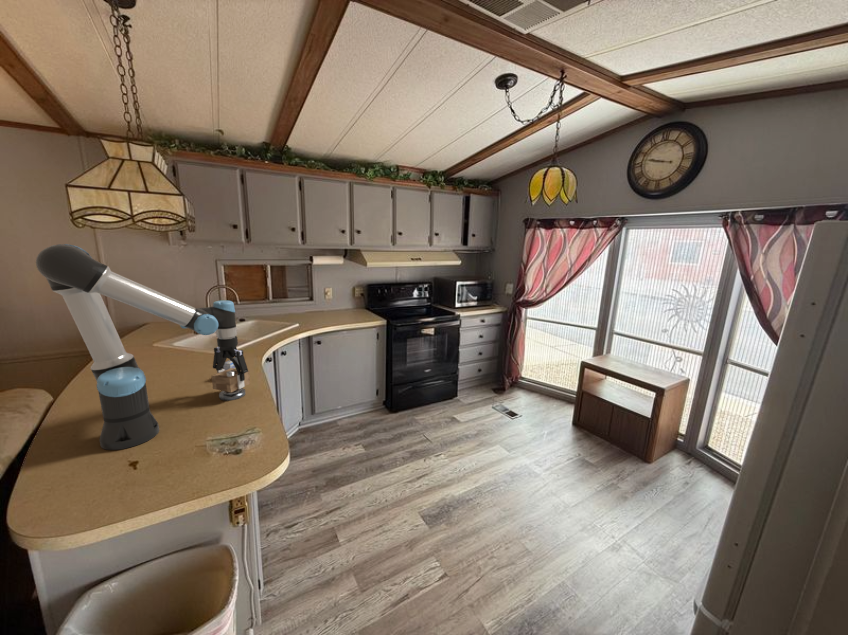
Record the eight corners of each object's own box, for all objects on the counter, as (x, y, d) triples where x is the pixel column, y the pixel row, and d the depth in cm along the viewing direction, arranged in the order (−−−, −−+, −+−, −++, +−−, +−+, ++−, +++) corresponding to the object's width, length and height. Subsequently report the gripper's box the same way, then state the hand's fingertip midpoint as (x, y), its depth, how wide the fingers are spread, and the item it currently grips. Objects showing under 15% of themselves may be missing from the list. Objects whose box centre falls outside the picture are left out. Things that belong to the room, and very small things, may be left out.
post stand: (231, 402, 140) (229, 377, 138) (213, 398, 143) (211, 374, 141) (250, 392, 149) (248, 369, 147) (233, 389, 152) (231, 366, 150)
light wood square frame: (231, 392, 139) (229, 379, 138) (213, 388, 142) (211, 375, 141) (250, 383, 149) (248, 370, 147) (232, 380, 152) (231, 367, 150)
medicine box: (231, 380, 162) (230, 363, 160) (223, 379, 163) (222, 363, 161) (243, 374, 170) (241, 358, 168) (235, 374, 171) (234, 358, 169)
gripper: (255, 337, 141) (259, 386, 145) (214, 332, 148) (219, 378, 152) (240, 342, 134) (245, 393, 139) (199, 336, 141) (204, 385, 145)
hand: (231, 385), depth 145 cm, fingers closed on light wood square frame, 10 cm apart
